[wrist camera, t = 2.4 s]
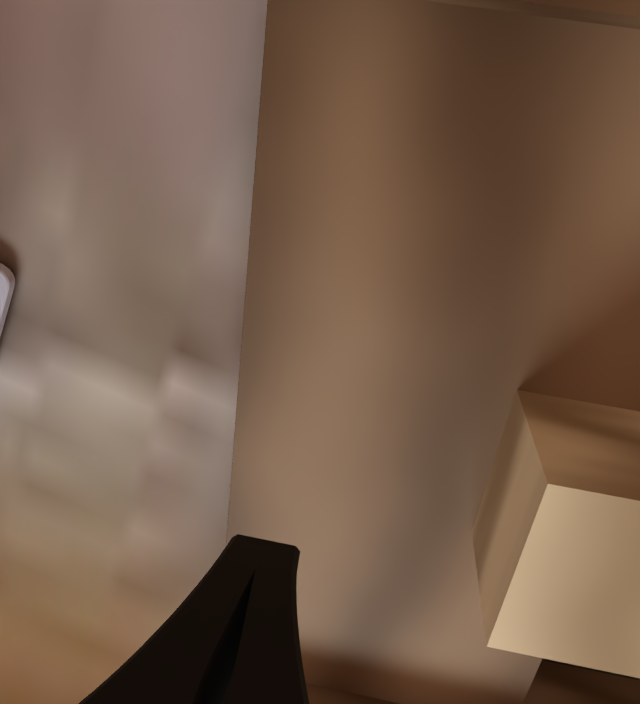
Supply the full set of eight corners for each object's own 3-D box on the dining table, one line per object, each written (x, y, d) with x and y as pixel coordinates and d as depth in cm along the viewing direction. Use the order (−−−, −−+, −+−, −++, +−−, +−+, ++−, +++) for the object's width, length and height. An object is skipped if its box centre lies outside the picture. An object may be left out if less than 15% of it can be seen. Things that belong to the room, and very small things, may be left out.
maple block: (471, 531, 18) (486, 646, 14) (516, 389, 16) (548, 483, 12) (639, 564, 18) (698, 690, 14) (710, 423, 15) (800, 530, 12)
